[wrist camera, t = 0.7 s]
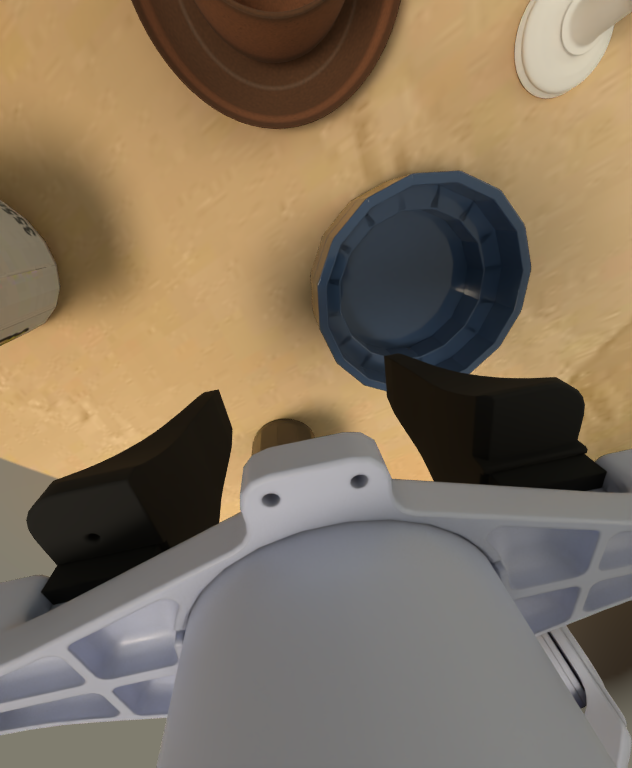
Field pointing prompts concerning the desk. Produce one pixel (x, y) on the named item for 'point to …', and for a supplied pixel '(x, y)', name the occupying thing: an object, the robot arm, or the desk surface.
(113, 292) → the desk surface
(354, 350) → the bowl
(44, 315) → the beverage can
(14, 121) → the desk surface
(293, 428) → the cup
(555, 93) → the chess piece
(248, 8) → the cup and saucer
